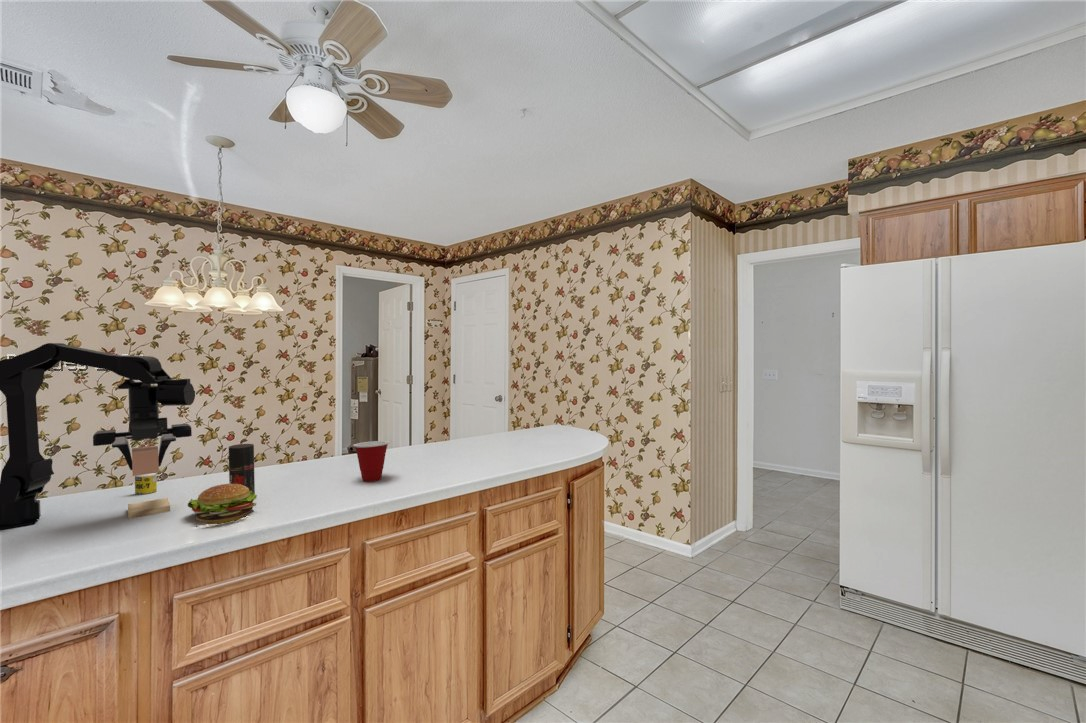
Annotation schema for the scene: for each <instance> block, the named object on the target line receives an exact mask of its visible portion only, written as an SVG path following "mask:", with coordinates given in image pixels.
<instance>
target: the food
mask: <svg viewBox="0 0 1086 723" xmlns="http://www.w3.org/2000/svg"><path fill="white" fill-rule="evenodd" d="M257 497H258V495H257V494H256V493H255V494H253V492H252V491H249V489H248V488H247V487H246V486H244V485H241V484H229V483H223V484H218V485H214V486H211V487H209V488H207V489H205V490H203V491H201V493H200V494H199V495H198V497H197V499H196V498H195V499H193V498H191V499H190V500H189V501H188V503H187V507H188V508H190V509H191V511H193V513H194V514H195V517H196V518H195V519H196V521H199V522H203V523H204V522H205V523H207V525H219V523H220V524H226V522H227V523H231V522H234V521H238V519H239V520H240V519H243V518H245V517H247V516H248V515H247V514H249V513H250V512H251V511H253V510H252V509H253V508H254V507H256V506H257V502H254V501H255V500H256V499H257Z"/></svg>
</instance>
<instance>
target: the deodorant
mask: <svg viewBox="0 0 1086 723" xmlns="http://www.w3.org/2000/svg"><path fill="white" fill-rule="evenodd" d="M228 473H229V474H228V480H229V481H228V482H229V483H228V484H241V485H244V486H246V487H247V488H248V489H249V491H252V492H253V494H255V495H256V491H255V490H256V489H255V486H256V484H255V481H256V480H255V445H254V444H253V443H239V444H233V445H229V446H228Z"/></svg>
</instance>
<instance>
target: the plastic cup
mask: <svg viewBox="0 0 1086 723" xmlns="http://www.w3.org/2000/svg"><path fill="white" fill-rule="evenodd" d="M388 444H390V443H389V441H385V440H374V441H373V440H371V441H363V442H358V443H355V444H353V447H354V449H355V452H356V455H357V461H358V465H359V466H358V467H359V470H360V475H361V479H362V482H367V483H368V482H370V483H371V482H377V481H380V480H381V479H382V477H383V469H384V466H385V460H386V459H385V458H386V453H387V448H388Z"/></svg>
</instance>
